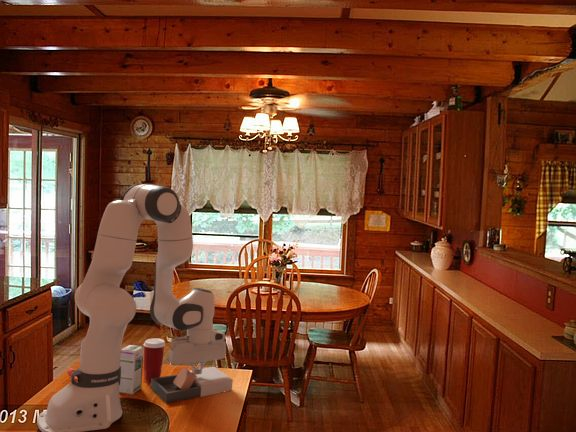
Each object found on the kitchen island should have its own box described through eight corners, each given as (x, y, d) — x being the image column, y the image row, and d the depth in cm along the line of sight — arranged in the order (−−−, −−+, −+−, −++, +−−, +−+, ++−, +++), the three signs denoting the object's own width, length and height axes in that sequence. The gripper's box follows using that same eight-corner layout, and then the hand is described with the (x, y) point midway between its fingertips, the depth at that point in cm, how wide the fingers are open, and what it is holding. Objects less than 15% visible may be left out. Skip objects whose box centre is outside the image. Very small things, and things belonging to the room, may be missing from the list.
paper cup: (167, 379, 169) (170, 341, 169) (151, 385, 163) (153, 345, 162) (152, 373, 173) (155, 336, 173) (135, 379, 167) (138, 340, 167)
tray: (166, 403, 149) (166, 393, 149) (150, 387, 161) (151, 378, 160) (200, 396, 156) (201, 387, 156) (183, 382, 168) (184, 373, 168)
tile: (186, 392, 157) (180, 388, 156) (178, 386, 162) (172, 382, 160) (197, 376, 159) (191, 372, 158) (188, 370, 164) (183, 366, 162)
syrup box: (132, 394, 154) (135, 351, 154) (116, 392, 155) (119, 348, 155) (141, 388, 159) (144, 346, 159) (125, 385, 161) (128, 344, 160)
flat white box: (200, 396, 156) (201, 384, 156) (183, 382, 168) (184, 371, 168) (231, 390, 164) (232, 379, 163) (213, 377, 175) (214, 366, 175)
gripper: (174, 340, 154) (171, 382, 154) (229, 334, 166) (226, 372, 166) (167, 335, 159) (164, 375, 159) (221, 329, 171) (218, 367, 171)
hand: (196, 374), depth 163 cm, fingers closed
